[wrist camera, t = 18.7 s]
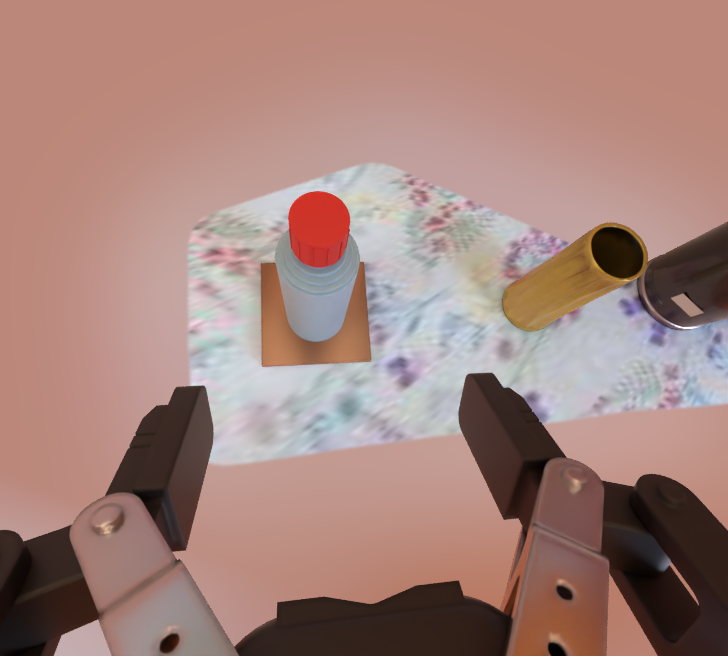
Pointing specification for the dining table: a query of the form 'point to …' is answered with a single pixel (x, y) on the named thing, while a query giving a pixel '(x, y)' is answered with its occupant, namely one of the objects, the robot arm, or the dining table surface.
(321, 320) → the bottle
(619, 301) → the dining table surface
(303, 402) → the dining table surface
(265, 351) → the coaster
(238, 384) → the dining table surface
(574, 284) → the vase
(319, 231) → the cap
